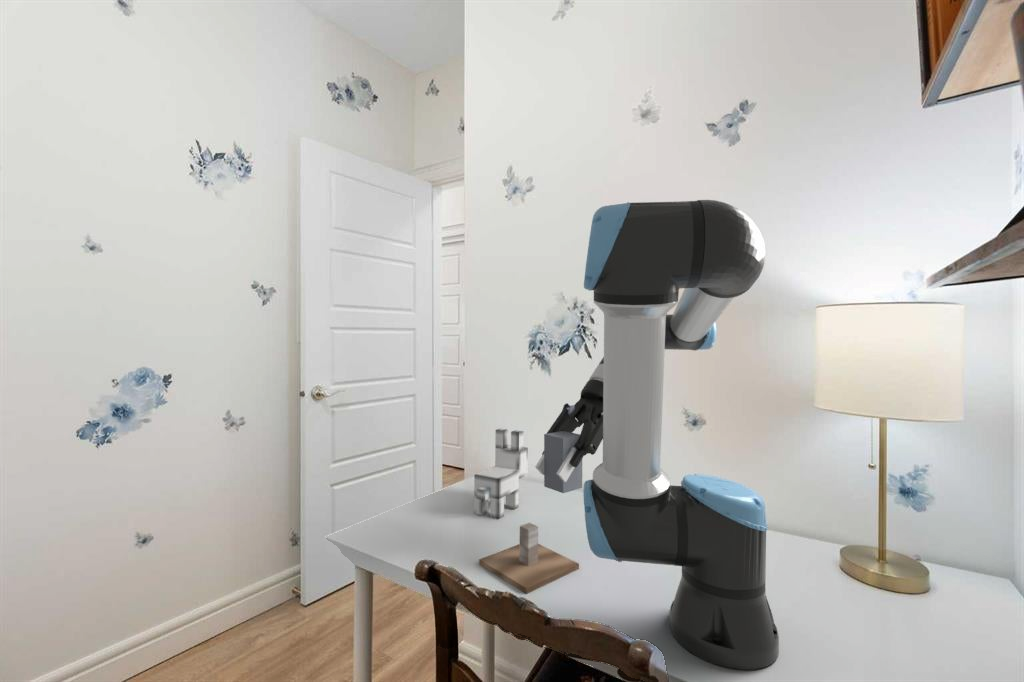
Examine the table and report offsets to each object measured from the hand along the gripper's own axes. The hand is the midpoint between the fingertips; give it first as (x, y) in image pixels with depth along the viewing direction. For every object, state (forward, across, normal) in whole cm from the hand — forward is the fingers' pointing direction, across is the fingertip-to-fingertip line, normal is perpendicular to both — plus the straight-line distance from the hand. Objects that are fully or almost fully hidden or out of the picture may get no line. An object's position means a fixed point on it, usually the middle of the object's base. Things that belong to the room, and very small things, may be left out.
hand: (550, 474), depth 94 cm
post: (+16, +1, -9) cm, 18 cm away
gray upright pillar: (0, 0, -5) cm, 5 cm away
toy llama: (+6, +29, -19) cm, 36 cm away
